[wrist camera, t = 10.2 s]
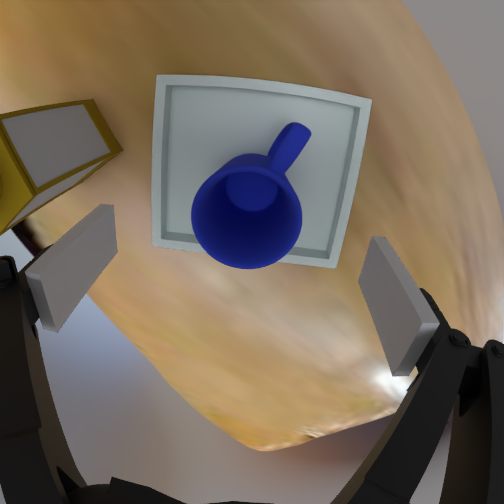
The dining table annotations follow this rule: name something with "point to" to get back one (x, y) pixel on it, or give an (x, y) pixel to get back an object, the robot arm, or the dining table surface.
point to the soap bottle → (49, 155)
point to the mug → (252, 205)
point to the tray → (258, 142)
